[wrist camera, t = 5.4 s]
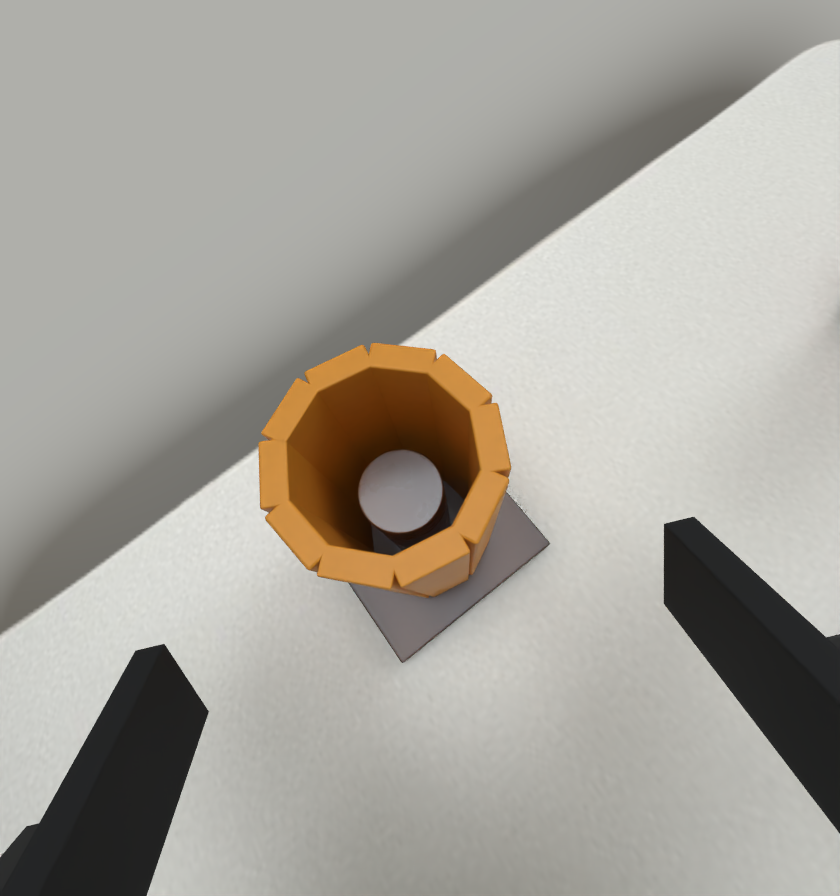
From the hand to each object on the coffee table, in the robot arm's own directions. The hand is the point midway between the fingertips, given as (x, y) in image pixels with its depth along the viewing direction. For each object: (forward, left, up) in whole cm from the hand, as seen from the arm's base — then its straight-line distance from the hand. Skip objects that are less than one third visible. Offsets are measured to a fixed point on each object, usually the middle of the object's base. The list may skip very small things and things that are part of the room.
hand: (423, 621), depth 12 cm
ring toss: (0, +4, -12) cm, 12 cm away
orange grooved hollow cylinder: (0, +4, -10) cm, 11 cm away
